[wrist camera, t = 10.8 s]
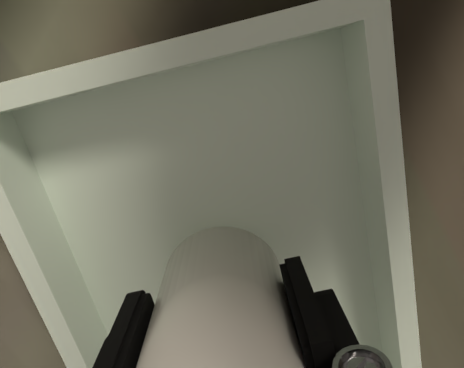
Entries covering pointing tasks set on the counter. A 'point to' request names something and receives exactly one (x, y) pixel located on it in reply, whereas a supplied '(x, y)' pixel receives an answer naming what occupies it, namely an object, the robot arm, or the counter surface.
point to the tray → (215, 168)
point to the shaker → (222, 307)
